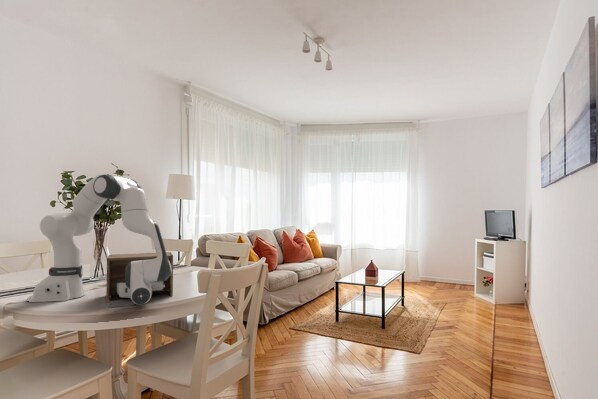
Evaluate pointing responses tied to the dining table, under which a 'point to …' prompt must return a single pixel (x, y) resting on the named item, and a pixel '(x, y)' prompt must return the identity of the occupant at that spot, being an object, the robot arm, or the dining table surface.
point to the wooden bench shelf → (118, 266)
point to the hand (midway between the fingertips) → (140, 283)
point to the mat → (121, 303)
